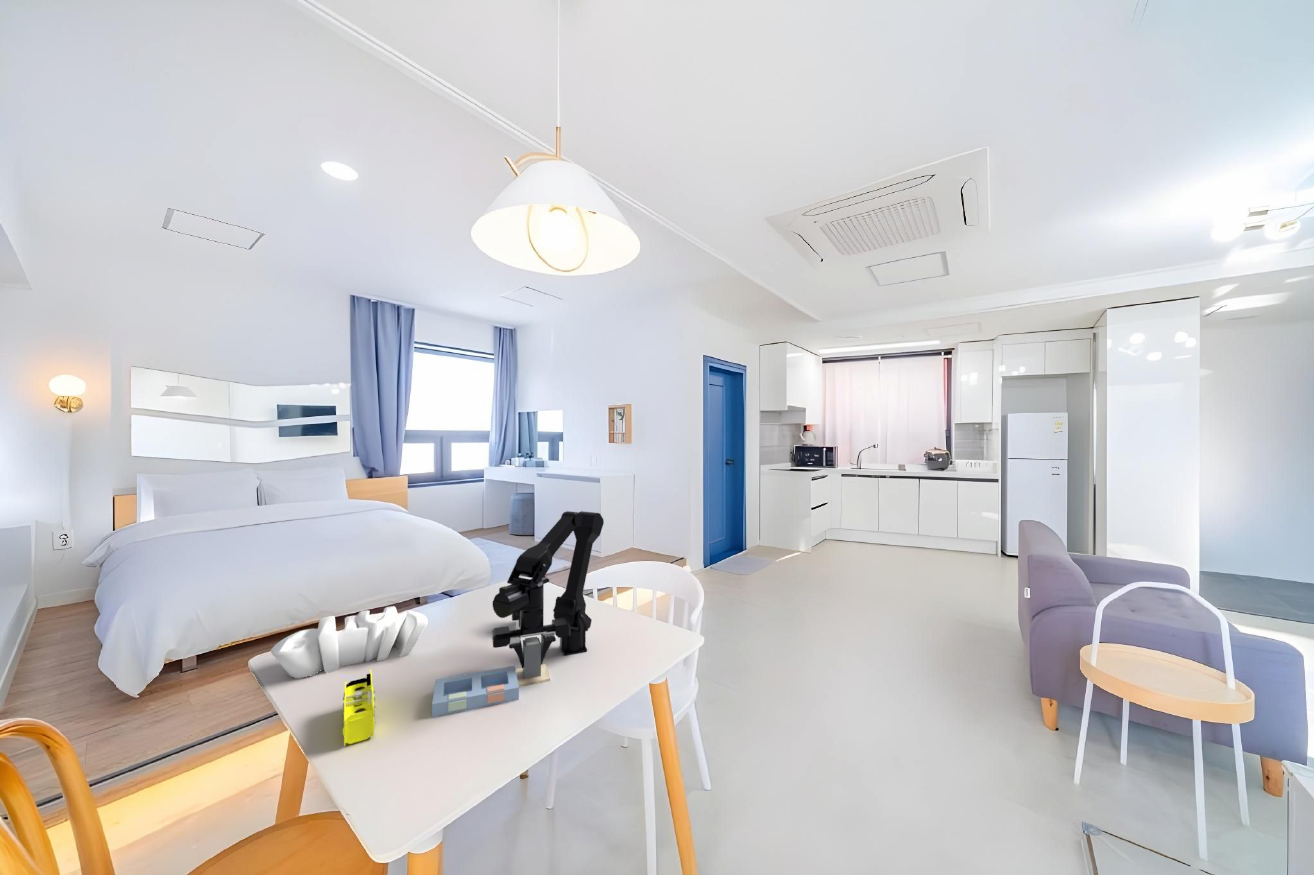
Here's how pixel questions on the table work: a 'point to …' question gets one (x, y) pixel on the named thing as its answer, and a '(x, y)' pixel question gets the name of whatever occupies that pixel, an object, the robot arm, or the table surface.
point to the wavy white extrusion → (349, 641)
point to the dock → (474, 690)
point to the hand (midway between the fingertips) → (531, 666)
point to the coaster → (535, 680)
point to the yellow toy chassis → (359, 710)
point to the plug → (531, 657)
